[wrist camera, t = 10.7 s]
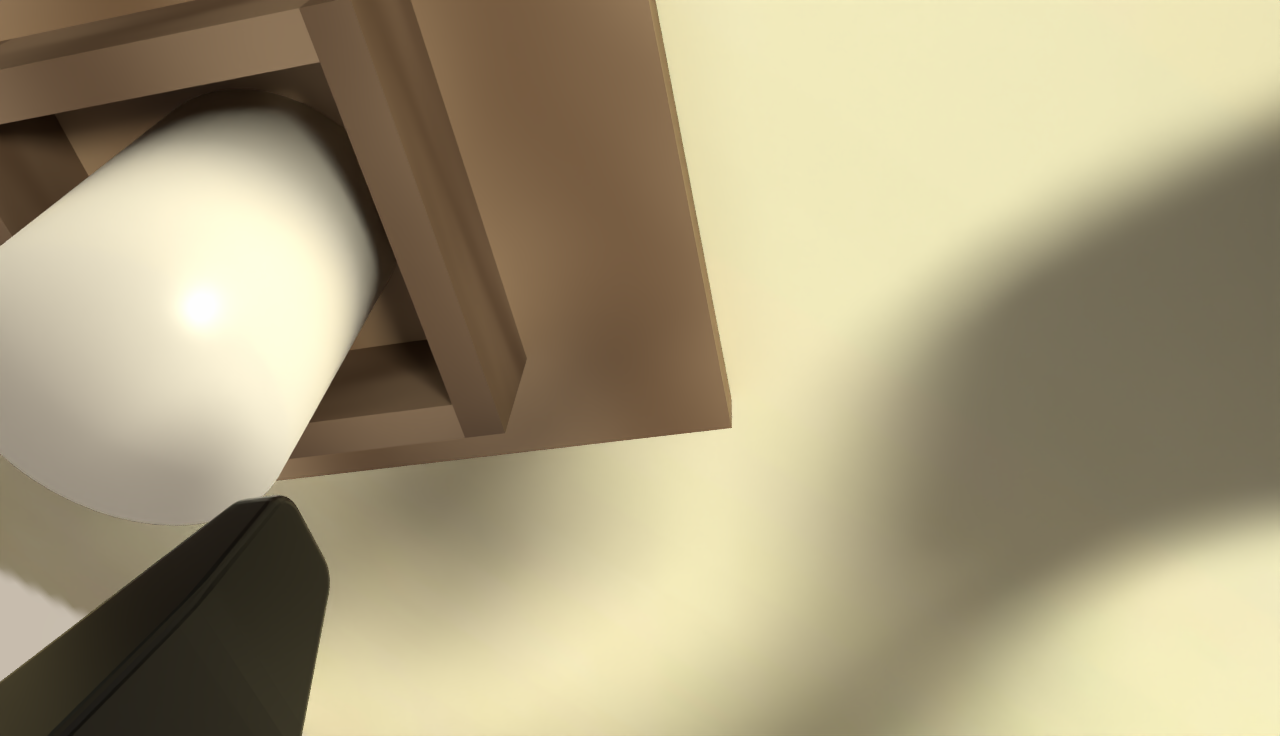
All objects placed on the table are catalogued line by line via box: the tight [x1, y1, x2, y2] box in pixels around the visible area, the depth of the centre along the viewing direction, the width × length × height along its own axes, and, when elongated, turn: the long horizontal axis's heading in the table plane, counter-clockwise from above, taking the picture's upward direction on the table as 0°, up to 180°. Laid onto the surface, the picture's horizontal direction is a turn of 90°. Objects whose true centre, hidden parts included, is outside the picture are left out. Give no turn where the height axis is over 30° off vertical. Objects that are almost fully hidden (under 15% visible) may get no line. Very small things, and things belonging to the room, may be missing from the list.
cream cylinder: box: [0, 89, 396, 525], centre depth 17 cm, size 5×5×6 cm
